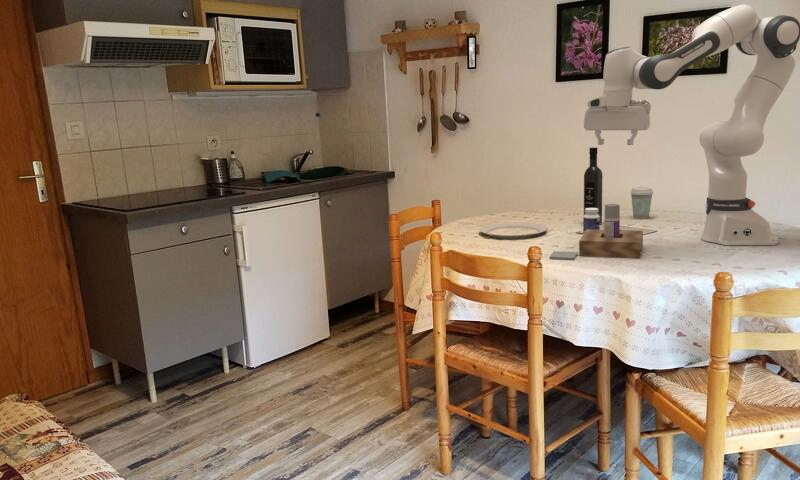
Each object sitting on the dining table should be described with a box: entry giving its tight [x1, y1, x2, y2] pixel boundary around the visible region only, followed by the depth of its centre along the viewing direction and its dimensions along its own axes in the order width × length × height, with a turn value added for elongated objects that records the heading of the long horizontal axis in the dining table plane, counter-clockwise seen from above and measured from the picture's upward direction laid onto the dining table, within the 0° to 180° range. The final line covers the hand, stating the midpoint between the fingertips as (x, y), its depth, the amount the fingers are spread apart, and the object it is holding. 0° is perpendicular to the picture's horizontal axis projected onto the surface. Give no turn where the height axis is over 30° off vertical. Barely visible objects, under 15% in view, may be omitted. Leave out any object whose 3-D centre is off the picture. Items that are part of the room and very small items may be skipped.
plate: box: [478, 221, 548, 239], centre depth 239 cm, size 26×26×2 cm
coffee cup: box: [630, 186, 654, 220], centre depth 252 cm, size 8×9×12 cm
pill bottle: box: [582, 208, 601, 235], centre depth 225 cm, size 6×6×10 cm
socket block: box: [578, 229, 644, 259], centre depth 202 cm, size 18×18×5 cm
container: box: [603, 203, 621, 238], centre depth 201 cm, size 5×5×15 cm
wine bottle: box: [583, 147, 603, 225], centre depth 243 cm, size 6×6×30 cm
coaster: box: [549, 250, 579, 261], centre depth 199 cm, size 8×8×1 cm
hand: (615, 144), depth 200 cm, fingers open, 8 cm apart
